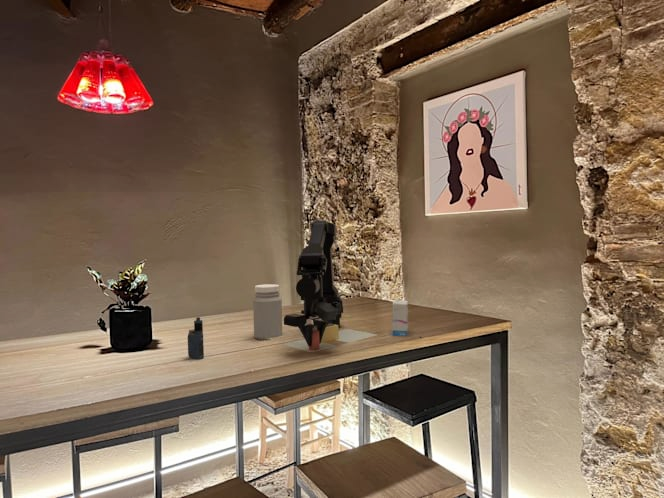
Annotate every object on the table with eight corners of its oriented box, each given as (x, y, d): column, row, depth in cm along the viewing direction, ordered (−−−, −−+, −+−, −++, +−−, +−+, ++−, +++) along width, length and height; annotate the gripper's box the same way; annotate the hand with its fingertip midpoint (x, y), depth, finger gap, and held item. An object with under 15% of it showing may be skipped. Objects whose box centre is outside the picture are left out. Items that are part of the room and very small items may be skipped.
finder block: (312, 341, 154) (311, 326, 154) (330, 337, 160) (329, 322, 159) (320, 343, 151) (320, 328, 151) (338, 338, 157) (338, 324, 157)
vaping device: (199, 360, 138) (197, 318, 138) (186, 357, 141) (185, 317, 141) (205, 357, 141) (204, 317, 140) (193, 355, 143) (192, 315, 143)
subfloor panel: (280, 347, 151) (280, 344, 151) (347, 331, 172) (347, 329, 172) (311, 355, 141) (311, 352, 141) (378, 337, 162) (378, 334, 161)
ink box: (407, 339, 159) (406, 303, 158) (392, 338, 160) (391, 303, 159) (408, 333, 167) (408, 299, 167) (394, 333, 168) (393, 299, 168)
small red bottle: (306, 349, 144) (306, 326, 144) (314, 347, 146) (314, 324, 146) (314, 351, 142) (313, 327, 142) (321, 348, 144) (321, 325, 144)
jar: (288, 336, 166) (287, 285, 165) (266, 342, 159) (265, 288, 158) (270, 333, 172) (269, 283, 172) (248, 338, 165) (246, 286, 164)
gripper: (307, 299, 131) (308, 356, 132) (354, 292, 144) (355, 343, 145) (281, 296, 139) (283, 349, 140) (328, 289, 152) (329, 338, 153)
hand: (314, 345), depth 144 cm, fingers closed on small red bottle, 3 cm apart
